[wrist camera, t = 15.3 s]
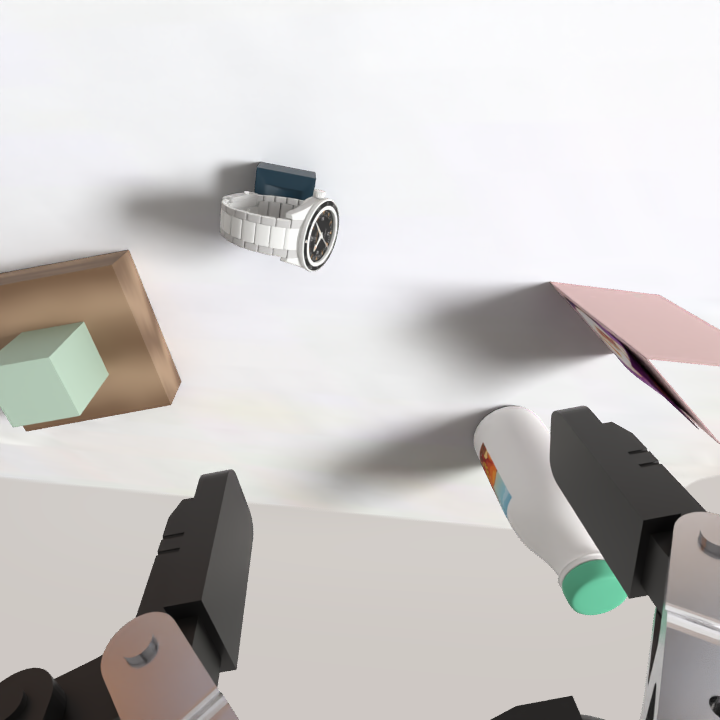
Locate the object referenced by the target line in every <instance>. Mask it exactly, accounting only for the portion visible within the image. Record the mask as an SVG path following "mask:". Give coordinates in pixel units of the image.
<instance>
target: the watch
mask: <svg viewBox="0 0 720 720" xmlns="http://www.w3.org/2000/svg"><path fill="white" fill-rule="evenodd" d="M315 181H316V174H315V172H311V171H306V170H300V169H295V168H290V167H285V166H280V165H275V164H270V163H264V162H260V163H259V165H258V166H257V170H256V181H255V192H249V191H244V192H243V193H236V194H230V195H227V196H224V197H223V198H222V203H221V211H220V233H221V235H222V236H223V237H224V238H225V239H227V240H228V241H230V242H231V243H233V244H235V245H237V246H239V247H242V248H245V249H248V250H251V251H254V252H259V253H262V254H267V255H273V256H278V257H281V259H280V261H283V262H286V263H289V264H293V265H296V266H299V267H302V268H304V269H306V270H307V271H310V272H315V271H317V270H319V269H320V268H321V267H322V266H323V265H324V264H325V263H326V261H327V260H328V258H329V256H330V254H331V252H332V250H333V248H334V245H335V242H336V238H337V234H338V228H339V212H338V208H337V205H336V203H335V202H334V201H333V200H331V199H328V198H325V193H326V192H325V191H322V190H317V189H315V190H314V188H315ZM272 249H273V253H272Z"/></svg>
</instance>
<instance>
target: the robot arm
mask: <svg viewBox="0 0 720 720" xmlns="http://www.w3.org/2000/svg"><path fill="white" fill-rule="evenodd" d="M550 467H551V471H552V474H553V477H554V479H555V481H556V483H557V485H558V486H559V488H560V490H561V491H562V493H563V494H564V496H565V498H566V499H567V501H568V502H569V504H570V506H571V507H572V509H573V510H574V512H575V513H576V515H577V517H578V518H579V520H580V521H581V523H582V525H583V526H584V528H585V529H586V531H587V532H588V534H589V536H590V537H591V539H592V540H593V542H594V544H595V545H596V547H597V548H598V550H599V551H600V553H601V555H602V556H603V558H604V559H605V561H606V563H607V564H608V566H609V567H610V569H611V571H612V572H613V574H614V575H615V577H616V578H617V580H618V582H619V583H620V585H621V586H622V588H623V590H624V591H625V593H626V594H627V596H628V597H629V598H635V597H641V596H646V595H648V596H649V597H650V599H651V600H652V601H653V603H654V604H655V606H656V609H655V614H654V620H653V629H652V637H651V645H650V653H649V662H648V670H647V677H646V685H645V693H644V700H643V707H642V713H641V718H640V720H720V515H719V514H715V513H710V512H706V511H705V510H704V509H703V507H701V505H700V504H699V503H698V502H697V501H696V500H695V499H694V498H693V497H692V496H691V495H690V494H689V493H688V492H687V490H686V489H685V488H684V487H683V486H682V485H681V484H680V483H679V482H678V481H677V480H676V479H675V478H674V477H673V476H672V475H671V474H670V472H669V471H668V470H667V469H666V468H665V467H664V466H663V465H662V464H659V462H658V460H657V459H656V458H655V457H654V456H653V455H652V453H651V452H650V451H649V452H648V451H647V448H646V447H645V446H644V445H643V444H642V443H641V442H640V441H639V440H638V439H637V438H636V437H635V435H634V434H633V433H631V432H629V431H627V430H626V429H624V428H622V427H620V426H618V425H617V424H615V423H613V422H608V423H603V424H602V423H601V421H600V420H599V419H598V418H597V417H596V416H595V415H594V414H593V412H592V411H591V410H590V409H589V408H588V407H586V406H579V407H574V408H568V409H563V410H557V411H554V412H553V413H552V416H551V433H550ZM252 542H253V523H252V518H251V514H250V511H249V508H248V505H247V502H246V500H245V497H244V494H243V492H242V489H241V486H240V484H239V481H238V478H237V476H236V473H235V472H234V470H232V469H231V470H225V471H220V472H215V473H209V474H204V475H202V476H201V477H200V479H199V482H198V486H197V489H196V493H195V496H194V498H189V499H184V500H182V501H181V503H180V504H179V505H178V506H177V508H176V509H175V510H174V511H173V513H172V514H171V515H170V517H169V519H168V522H167V525H166V528H165V531H164V534H163V540H161V543H160V546H159V549H158V555H157V556H156V558H155V562H154V564H153V567H152V570H151V573H150V576H149V579H148V582H147V585H146V588H145V591H144V595H143V597H142V600H141V604H140V607H139V610H138V613H137V615H136V618H134V619H133V620H131V621H130V622H128V623H127V624H125V625H124V626H123V627H122V628H121V629H120V630H119V631H118V632H117V633H116V634H115V635H114V636H113V637H112V639H111V640H110V642H109V643H108V645H107V647H106V649H105V651H104V653H103V655H101V656H100V657H98V658H96V659H94V660H92V661H90V662H88V663H86V664H84V665H82V666H80V667H78V668H76V669H74V670H72V671H70V672H68V673H66V674H64V675H62V676H60V677H58V678H56V679H53V677H52V676H51V675H50V674H49V673H48V672H47V671H45V670H44V669H40V668H30V669H26V670H23V671H20V672H17V673H15V674H13V675H11V676H10V677H8V678H6V679H5V680H3V681H2V682H1V683H0V720H239V719H238V717H237V716H236V714H235V713H234V711H233V710H232V708H231V707H230V705H229V703H228V702H227V700H226V699H225V697H224V696H223V694H222V693H220V691H219V690H218V688H217V685H218V679H219V673H220V672H225V671H231V670H236V669H237V661H238V653H239V645H240V637H241V629H242V622H243V613H244V606H245V597H246V590H247V582H248V573H249V565H250V558H251V550H252ZM491 720H604V719H600V718H596V717H592V716H588V715H580V712H579V710H578V708H577V706H576V703H575V701H574V699H573V697H572V696H569V697H563V698H558V699H552V700H547V701H541V702H536V703H531V704H525V705H520V706H516V707H514V708H512V709H510V710H508V711H506V712H504V713H502V714H501V715H499V716H497V717H495V718H493V719H491Z"/></svg>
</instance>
